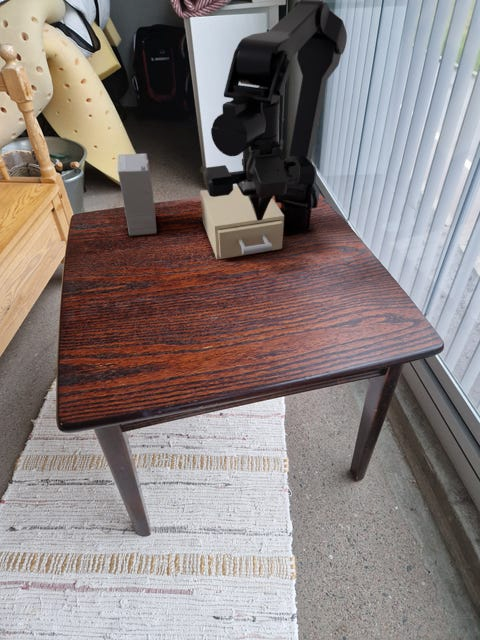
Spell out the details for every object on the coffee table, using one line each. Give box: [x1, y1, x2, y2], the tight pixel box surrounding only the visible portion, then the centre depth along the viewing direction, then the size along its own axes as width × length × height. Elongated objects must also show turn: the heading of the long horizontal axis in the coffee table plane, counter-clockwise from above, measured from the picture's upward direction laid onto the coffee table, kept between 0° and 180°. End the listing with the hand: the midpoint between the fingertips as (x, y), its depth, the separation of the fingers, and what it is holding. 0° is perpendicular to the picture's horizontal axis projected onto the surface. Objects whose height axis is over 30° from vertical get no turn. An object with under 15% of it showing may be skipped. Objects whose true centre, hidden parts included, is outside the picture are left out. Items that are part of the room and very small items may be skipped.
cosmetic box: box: [117, 153, 157, 237], centre depth 94 cm, size 8×7×16 cm
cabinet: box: [199, 185, 284, 260], centre depth 93 cm, size 16×15×8 cm
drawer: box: [218, 220, 283, 260], centre depth 90 cm, size 19×13×6 cm
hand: (259, 219), depth 78 cm, fingers closed
